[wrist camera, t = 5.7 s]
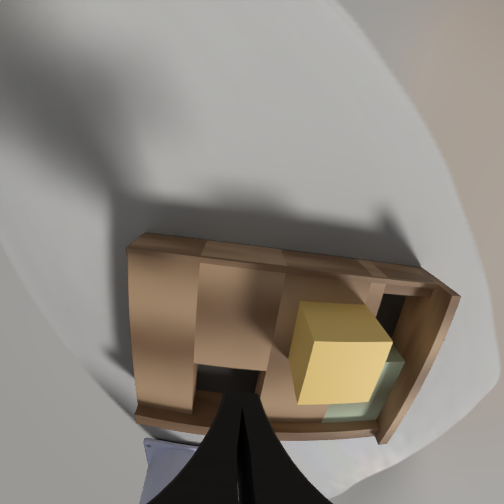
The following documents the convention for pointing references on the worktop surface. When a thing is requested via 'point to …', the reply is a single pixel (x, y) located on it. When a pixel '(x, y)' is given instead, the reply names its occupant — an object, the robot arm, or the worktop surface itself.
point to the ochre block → (336, 353)
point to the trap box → (269, 333)
